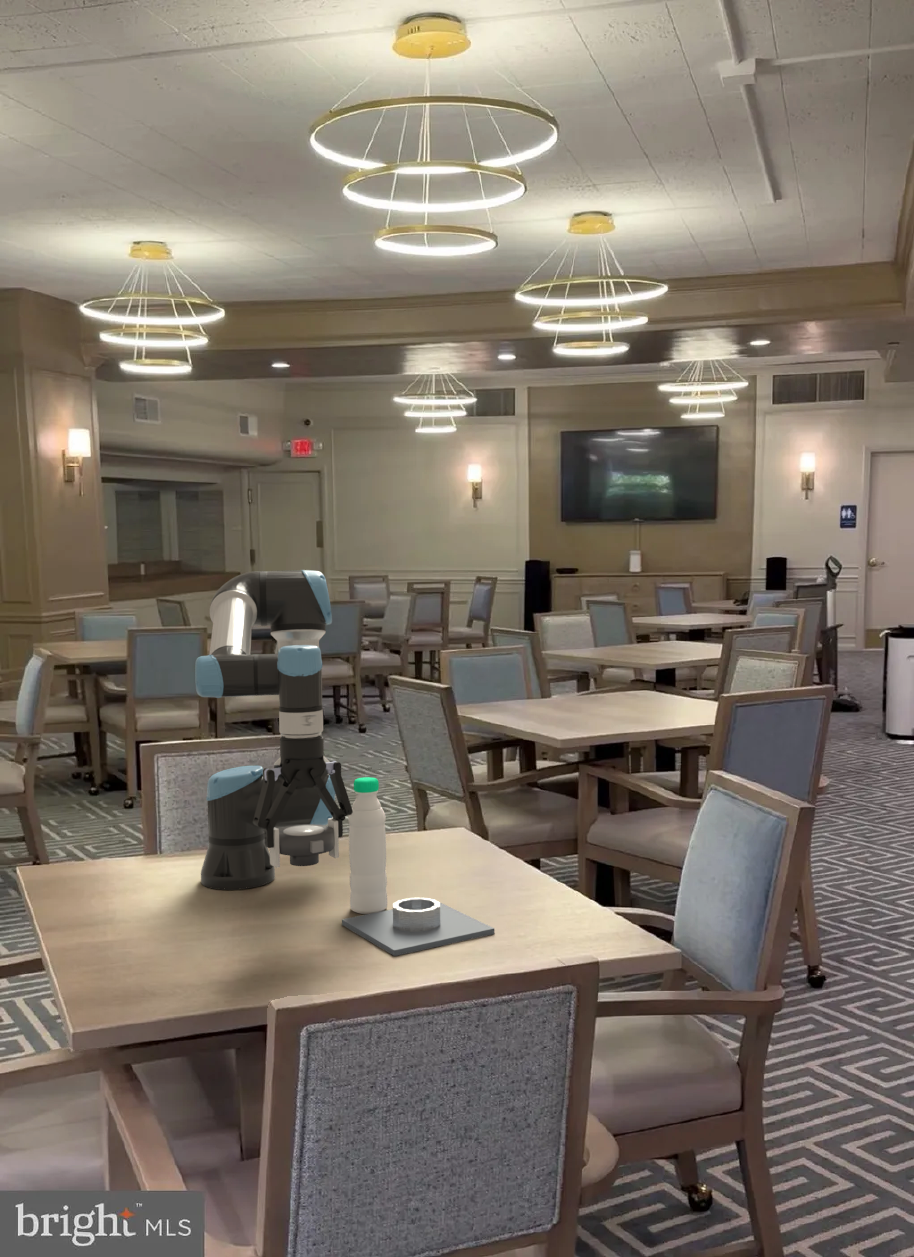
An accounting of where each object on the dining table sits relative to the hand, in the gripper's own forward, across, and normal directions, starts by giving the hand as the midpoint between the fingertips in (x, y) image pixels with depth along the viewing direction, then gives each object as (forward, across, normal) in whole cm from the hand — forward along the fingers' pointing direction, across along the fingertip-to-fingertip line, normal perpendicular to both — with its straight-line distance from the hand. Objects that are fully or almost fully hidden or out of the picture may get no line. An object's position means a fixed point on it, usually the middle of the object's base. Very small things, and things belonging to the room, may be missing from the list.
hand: (304, 860), depth 198 cm
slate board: (+14, +19, -6) cm, 24 cm away
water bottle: (+14, +17, +10) cm, 24 cm away
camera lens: (0, 0, 0) cm, 0 cm away
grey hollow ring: (+14, +19, -6) cm, 24 cm away
